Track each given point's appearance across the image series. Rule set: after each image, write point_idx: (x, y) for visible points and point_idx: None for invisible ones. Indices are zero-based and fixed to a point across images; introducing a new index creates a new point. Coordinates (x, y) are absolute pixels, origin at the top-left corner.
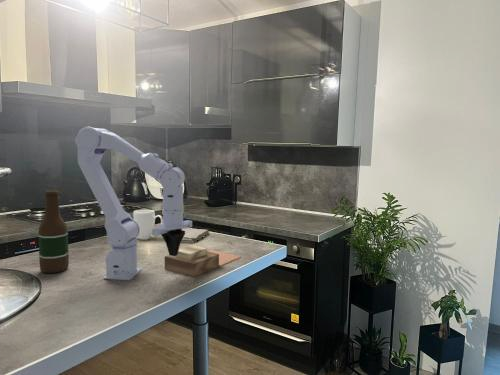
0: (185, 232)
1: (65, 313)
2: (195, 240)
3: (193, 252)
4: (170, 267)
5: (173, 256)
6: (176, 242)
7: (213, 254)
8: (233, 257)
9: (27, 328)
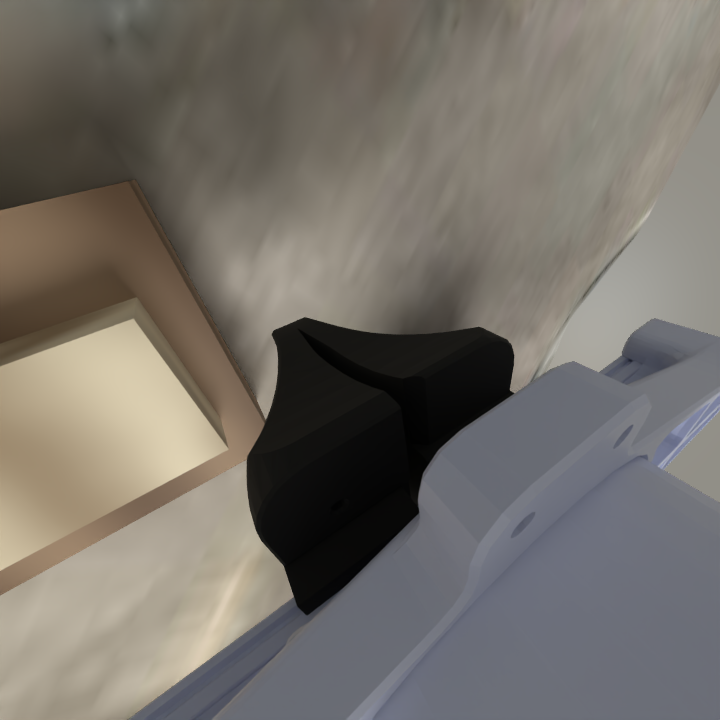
0: None
1: (608, 186)
2: None
3: (60, 355)
4: (243, 378)
5: (227, 430)
6: (356, 350)
7: None
8: None
9: (659, 163)
